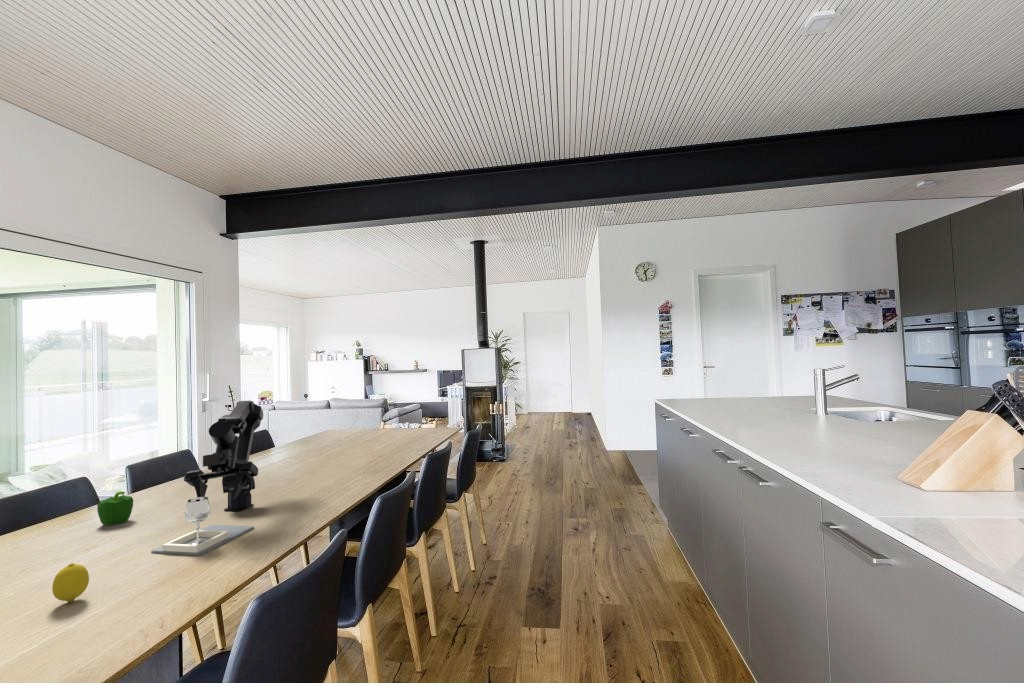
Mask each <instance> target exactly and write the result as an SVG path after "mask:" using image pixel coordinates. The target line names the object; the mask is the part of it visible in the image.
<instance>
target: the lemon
mask: <svg viewBox="0 0 1028 687" xmlns="http://www.w3.org/2000/svg"><path fill="white" fill-rule="evenodd" d="M89 582H90V574H89V570H87V568H86V567H85V566H84V565H81V564H79V563H77V564H75V563H73V562H72V563H69V564H68V565H66V566H65V567H63V568H62V569H61V570H59V571H58V572H57V573H56V575H55V577H54V579H53V581H52V586H51V588H52V590H51V592H52V595H53V597H54V598H55V599H57V600H59V601H61V602H67V603H72V602H74V601H75V600H76V598H78V597H80V596H82V594H83V593H84V592H86V589H87V588H88V585H89Z"/></svg>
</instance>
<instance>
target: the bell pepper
mask: <svg viewBox="0 0 1028 687" xmlns="http://www.w3.org/2000/svg"><path fill="white" fill-rule="evenodd" d="M124 494H126V492H125V491H123V490H122V491H120V490H119V491H117V492H116V493H115V494H114V496H109V497H107V498H106V499H102V500H100V501H99V502H98V503H97V504H96V506H97V507H96V508H97V514H98V518H99V521H100V523H101V524H102V525H104V526H112V525H117V524H122V523H123V524H124V523H126V522H127V521H128V520H129V519H130V517H131V515H132V512H133V507H134V498H133V497H132V496H130V495H129V496H128V495H124Z"/></svg>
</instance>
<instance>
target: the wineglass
mask: <svg viewBox="0 0 1028 687" xmlns="http://www.w3.org/2000/svg"><path fill="white" fill-rule="evenodd" d="M184 508H185V510H184V518H185V520H186V521H187V522H188V523H190V524H195V530H196V531H197V538H196V540H195V541H194V542H191V543H189V544H190V545H198V544H200V543H202V542H204V541H206V540H200V539H199V530H200V529H201V527H200V526H201V524H200V523H202V522H204V521H206V520H207V519H208V518H209V516H210V515H211V505H210V500H209V497H208V496H205V497H197V496H196V497H193V498H190V499H188V500H187V502H186V505H185V507H184Z"/></svg>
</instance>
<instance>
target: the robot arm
mask: <svg viewBox="0 0 1028 687" xmlns="http://www.w3.org/2000/svg"><path fill="white" fill-rule="evenodd" d="M217 419H218V420H217V421H216V422H214V423H213V424H212V425H210V427H209V428H208V434H209V436H210V438H211V440H212V441H213V443H214V445H216V447H215V452H213V453H211V454H205V455H202V467H203V468H204V467H207V470H209V471H211V472H205V471H203V470H201V469H195V470H190V471H187V472H186V473H185V474H184V476H183V481H184V482H185V483H187V484H188V485H189V486H191V487H194V490H195V493H196V498H197V497H206V493H207V488H208V484H207V483H208V481H209V480H211V479H218V478H222V479H221V482H222V483H221V485H222V486H221V487H222V492H223V494H227V507H226V508H224V509H223V511H224V512H226V511H227V512H228V511H229V512H241V511H244V510H247V509H248V508H251V507H253V506H255V504H254V503H252V493H251V491H252V490H255V489H256V482H255V477H258V474H259V468H258V466H257V465H256V464H254V462H252V461H251V460H250V455H251V450H252V443H253V439H254V434H255V431H256V430H257V429H258V428H259V427H260V426H261V422H262V421H263V419H264V411H263V409H262V406H260V405H258V404H257V403H255V402H254V400H239V401H237V402H236V406H235V407H234V408H233V410H232V411H231V412H230V413H228V414H226V415H225V414H223V415H222V416H220V418H217ZM237 434H238V436H237Z"/></svg>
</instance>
